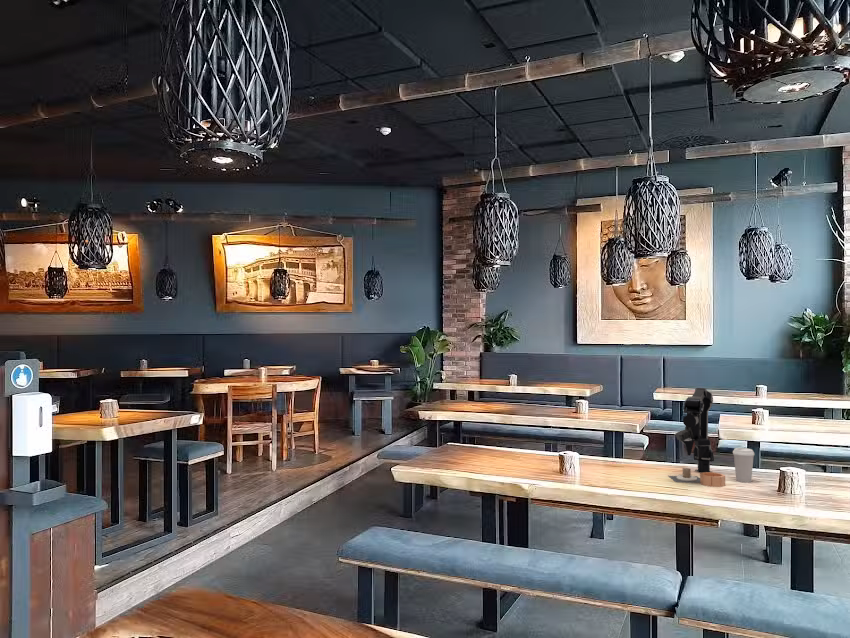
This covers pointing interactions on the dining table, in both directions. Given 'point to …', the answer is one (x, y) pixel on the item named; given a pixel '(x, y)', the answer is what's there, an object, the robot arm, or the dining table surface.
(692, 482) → the trivet
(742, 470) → the coffee cup
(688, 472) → the lid
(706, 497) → the dining table surface
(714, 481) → the bowl
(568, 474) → the dining table surface
